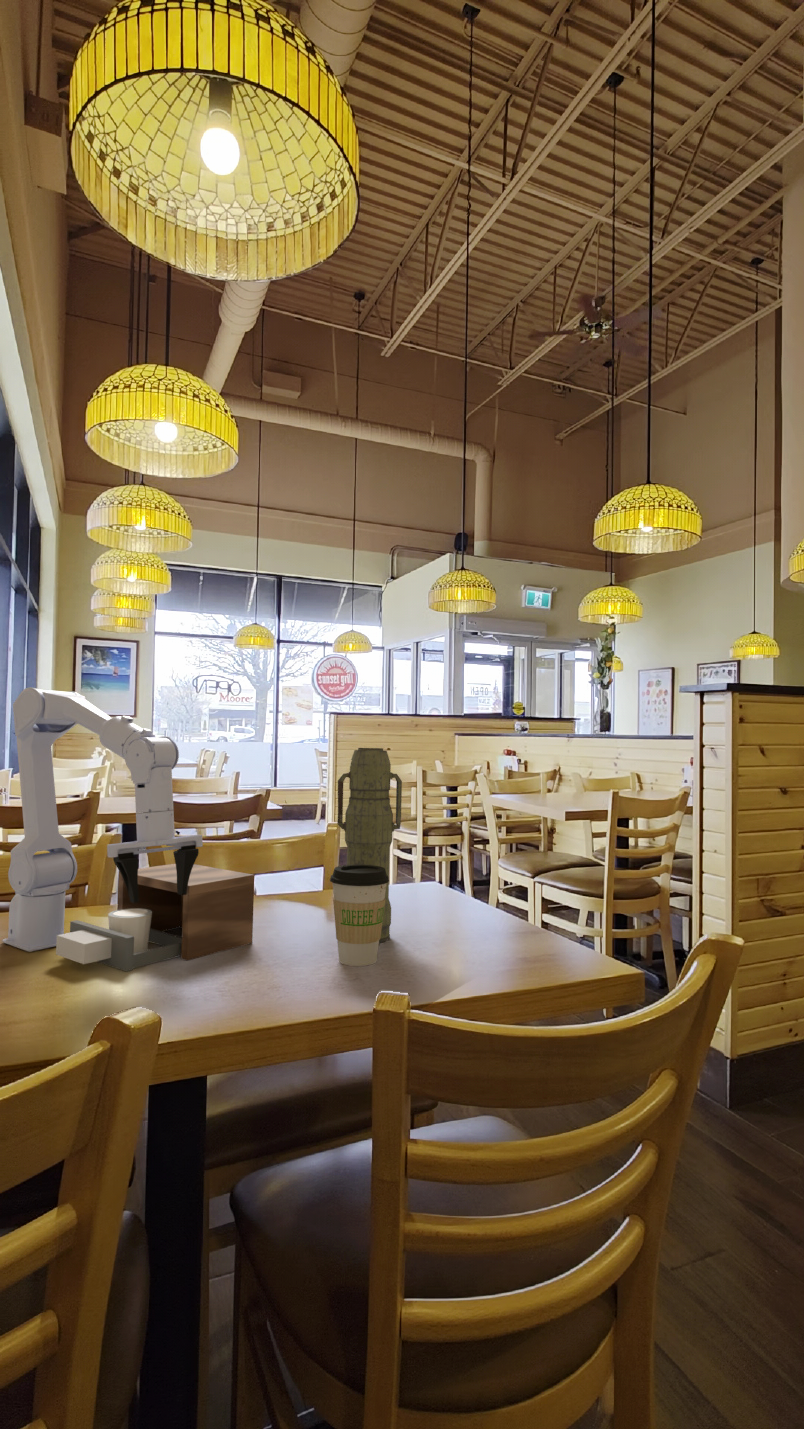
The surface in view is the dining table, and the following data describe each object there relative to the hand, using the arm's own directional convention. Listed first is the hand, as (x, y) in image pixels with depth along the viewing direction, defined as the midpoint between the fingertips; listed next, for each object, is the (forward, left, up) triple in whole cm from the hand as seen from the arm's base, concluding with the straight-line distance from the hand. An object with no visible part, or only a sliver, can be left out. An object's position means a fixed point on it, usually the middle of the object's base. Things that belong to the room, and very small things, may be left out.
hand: (158, 898), depth 115 cm
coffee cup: (+22, +23, -11) cm, 34 cm away
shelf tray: (-9, -1, -10) cm, 14 cm away
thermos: (+14, +35, -11) cm, 39 cm away
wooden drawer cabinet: (-9, +12, -11) cm, 18 cm away
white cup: (-9, +1, -11) cm, 14 cm away
